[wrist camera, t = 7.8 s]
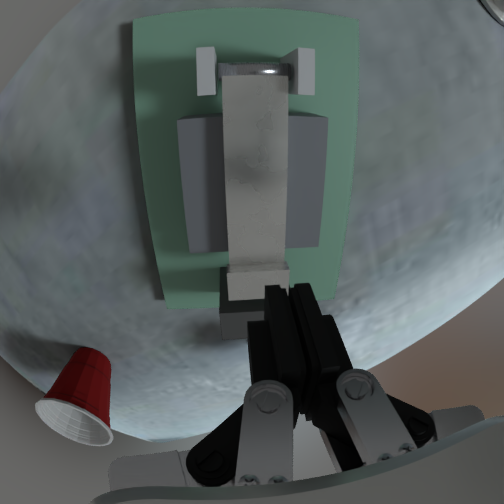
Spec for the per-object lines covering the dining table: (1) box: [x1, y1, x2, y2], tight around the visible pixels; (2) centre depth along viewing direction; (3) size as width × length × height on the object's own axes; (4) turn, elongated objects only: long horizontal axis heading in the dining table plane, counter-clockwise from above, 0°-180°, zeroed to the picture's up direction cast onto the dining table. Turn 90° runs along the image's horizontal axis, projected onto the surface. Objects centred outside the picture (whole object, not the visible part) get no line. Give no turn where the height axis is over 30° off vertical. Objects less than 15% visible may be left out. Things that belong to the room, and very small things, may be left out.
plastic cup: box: [35, 347, 113, 446], centre depth 31 cm, size 11×11×12 cm
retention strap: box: [218, 62, 292, 301], centre depth 19 cm, size 17×4×2 cm, turn 0°
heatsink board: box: [133, 8, 359, 340], centre depth 21 cm, size 28×18×8 cm, turn 1°
